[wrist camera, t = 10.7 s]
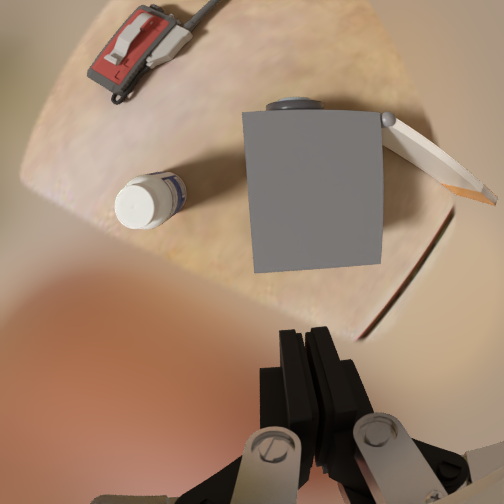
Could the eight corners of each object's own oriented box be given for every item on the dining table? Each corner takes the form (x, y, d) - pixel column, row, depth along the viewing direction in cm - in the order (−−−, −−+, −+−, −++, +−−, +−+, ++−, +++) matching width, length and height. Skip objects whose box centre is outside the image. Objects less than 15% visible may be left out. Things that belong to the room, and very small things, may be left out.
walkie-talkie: (133, 114, 30) (235, -3, 25) (117, 110, 26) (233, -20, 21) (89, 85, 29) (184, -25, 24) (71, 79, 24) (177, -41, 19)
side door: (350, 129, 30) (380, 121, 22) (354, 119, 30) (385, 108, 21) (455, 195, 32) (495, 207, 24) (458, 186, 31) (499, 196, 23)
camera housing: (244, 110, 30) (240, 93, 21) (348, 109, 29) (378, 94, 21) (254, 244, 35) (254, 273, 26) (353, 238, 34) (381, 263, 26)
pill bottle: (139, 207, 33) (102, 225, 24) (153, 165, 32) (116, 169, 23) (179, 222, 34) (152, 246, 25) (194, 180, 32) (170, 188, 23)
